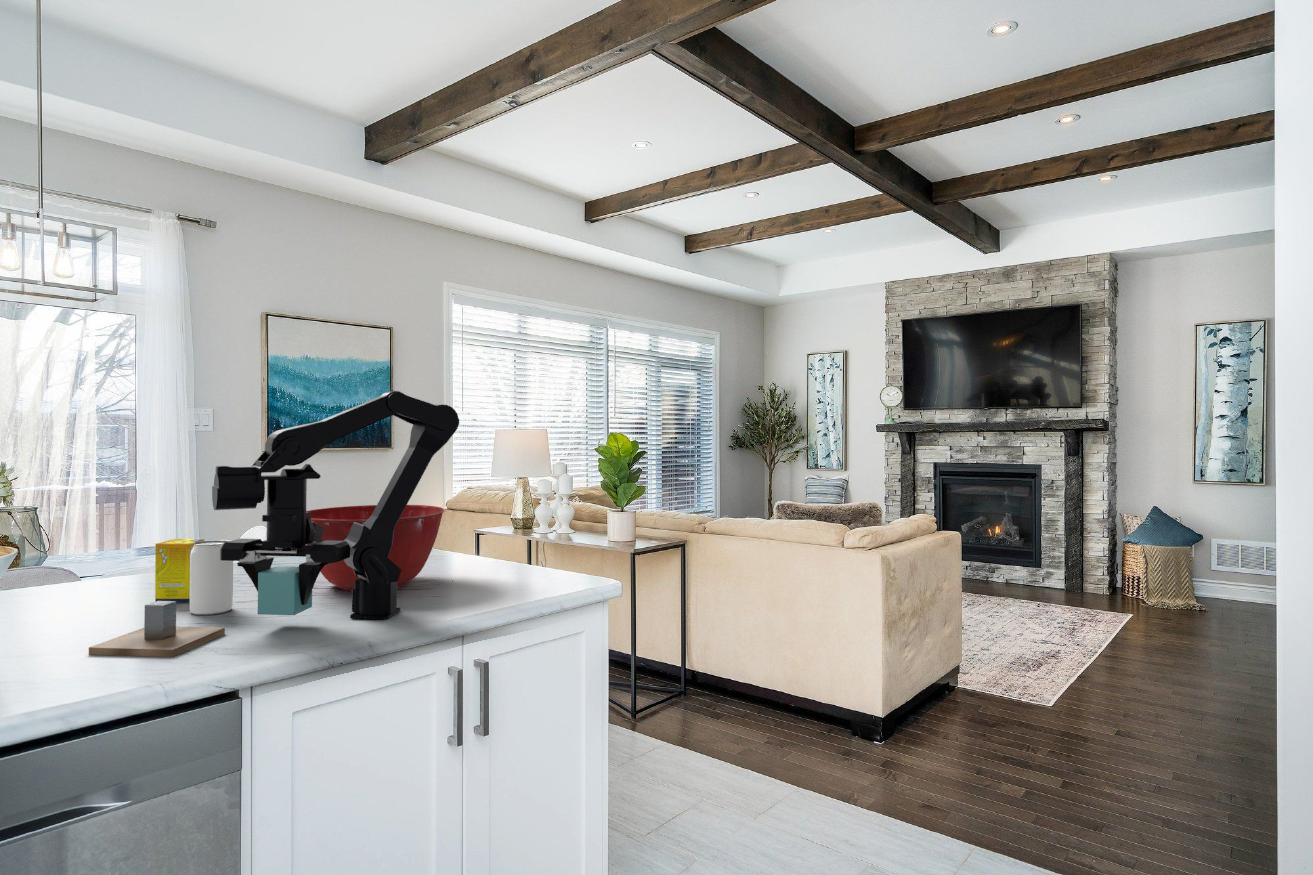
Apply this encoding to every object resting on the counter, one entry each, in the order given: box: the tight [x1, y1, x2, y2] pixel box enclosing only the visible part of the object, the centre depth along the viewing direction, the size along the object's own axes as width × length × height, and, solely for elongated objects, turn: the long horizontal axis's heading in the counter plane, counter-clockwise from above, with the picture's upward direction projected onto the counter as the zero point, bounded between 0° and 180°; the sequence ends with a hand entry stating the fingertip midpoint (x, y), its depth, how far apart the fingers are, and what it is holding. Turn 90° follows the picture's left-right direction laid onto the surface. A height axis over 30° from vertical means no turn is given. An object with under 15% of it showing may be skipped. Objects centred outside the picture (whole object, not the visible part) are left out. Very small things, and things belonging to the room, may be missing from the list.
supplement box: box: [154, 538, 206, 604], centre depth 140 cm, size 6×6×11 cm
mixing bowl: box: [306, 504, 445, 592], centre depth 156 cm, size 28×28×16 cm
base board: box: [88, 625, 226, 658], centre depth 111 cm, size 12×12×1 cm
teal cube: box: [257, 565, 313, 616], centre depth 122 cm, size 6×6×7 cm
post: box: [143, 601, 177, 640], centre depth 111 cm, size 3×3×5 cm
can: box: [189, 539, 234, 616], centre depth 132 cm, size 6×6×12 cm
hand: (285, 604), depth 122 cm, fingers closed on teal cube, 6 cm apart
